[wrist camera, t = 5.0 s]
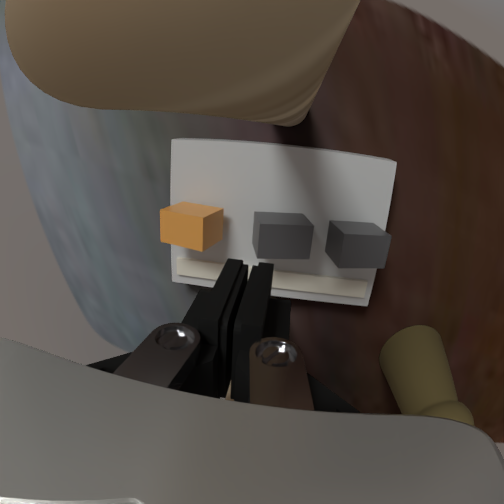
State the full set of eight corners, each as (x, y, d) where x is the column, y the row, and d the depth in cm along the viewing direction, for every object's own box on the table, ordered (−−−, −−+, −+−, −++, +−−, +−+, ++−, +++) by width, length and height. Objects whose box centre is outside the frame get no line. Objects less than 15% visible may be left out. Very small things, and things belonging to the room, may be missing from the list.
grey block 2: (373, 222, 19) (391, 236, 17) (367, 252, 20) (384, 268, 18) (329, 220, 19) (344, 233, 17) (324, 251, 20) (338, 268, 17)
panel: (388, 158, 20) (398, 162, 17) (363, 292, 23) (368, 308, 21) (182, 138, 21) (170, 139, 19) (181, 269, 25) (170, 283, 23)
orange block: (223, 208, 20) (203, 217, 17) (222, 239, 20) (202, 251, 18) (183, 201, 21) (159, 209, 18) (182, 230, 21) (160, 241, 19)
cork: (410, 385, 26) (435, 480, 16) (365, 363, 26) (382, 469, 16) (454, 341, 24) (499, 433, 14) (411, 313, 23) (455, 415, 13)
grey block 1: (302, 213, 20) (314, 225, 18) (299, 243, 21) (309, 259, 18) (254, 211, 19) (259, 223, 17) (252, 242, 20) (256, 258, 18)
